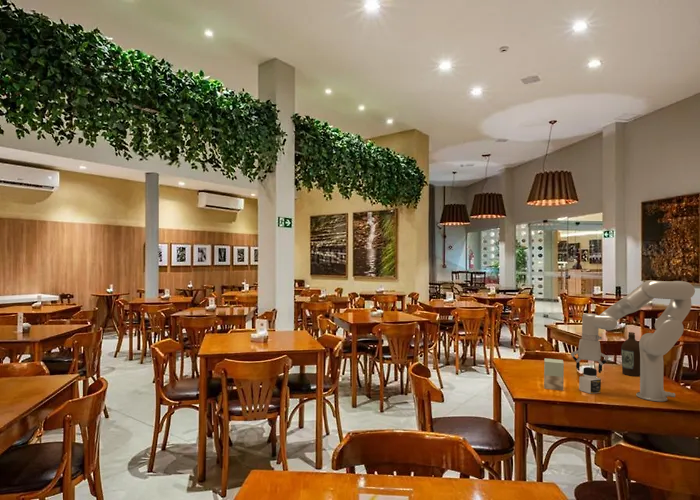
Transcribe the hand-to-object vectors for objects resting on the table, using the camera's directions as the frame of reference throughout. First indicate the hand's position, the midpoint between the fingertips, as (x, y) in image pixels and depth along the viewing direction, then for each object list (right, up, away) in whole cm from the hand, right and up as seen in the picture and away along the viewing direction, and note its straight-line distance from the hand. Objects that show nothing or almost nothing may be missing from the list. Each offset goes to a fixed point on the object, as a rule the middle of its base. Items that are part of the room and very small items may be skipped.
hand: (588, 371), depth 231 cm
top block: (-15, -3, +6) cm, 17 cm away
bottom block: (-15, -10, +6) cm, 19 cm away
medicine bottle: (0, -11, 0) cm, 11 cm away
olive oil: (+45, -12, +37) cm, 60 cm away
